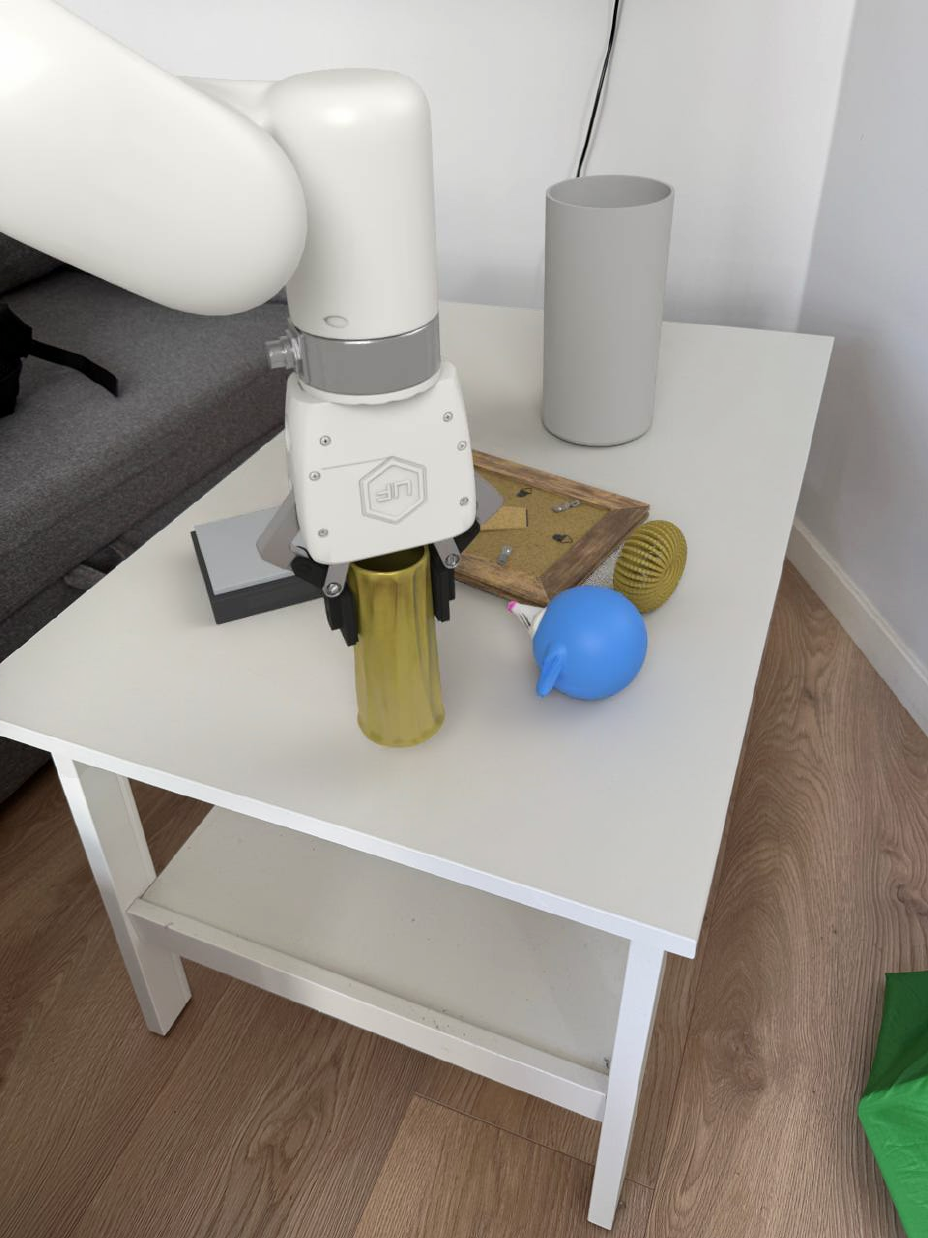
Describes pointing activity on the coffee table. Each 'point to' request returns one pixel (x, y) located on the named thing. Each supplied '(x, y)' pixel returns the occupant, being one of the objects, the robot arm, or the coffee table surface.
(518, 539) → the picture frame
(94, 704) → the coffee table surface
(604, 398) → the cylinder vase
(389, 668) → the vase
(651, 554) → the sculpture
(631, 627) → the blue mole toy
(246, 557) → the scale
